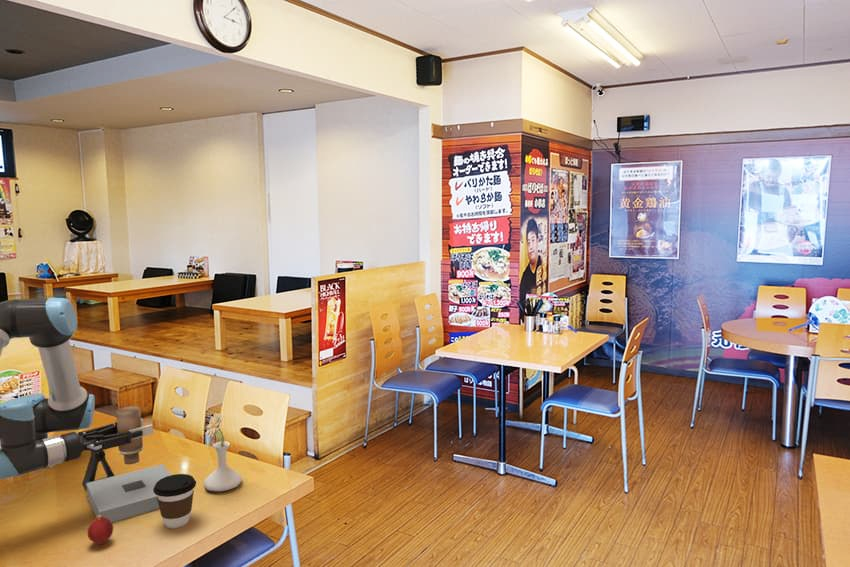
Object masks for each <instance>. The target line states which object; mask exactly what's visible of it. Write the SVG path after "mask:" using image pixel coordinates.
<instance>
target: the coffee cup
mask: <svg viewBox="0 0 850 567" xmlns="http://www.w3.org/2000/svg"><path fill="white" fill-rule="evenodd" d="M196 486H197V481H196V479H195V478H194V477H193V475H190V474H186V473H178V474H177V473H176V474H171V476H167V477H164V478H162V479H160V480H159V481H158V482H157V483H156V484H155V486H154V489H153V492H154V493H155V494H156V495H157V501H158V505H159V509H158V510H159V513H160V515H161V517H162V522H163V525H165V527H166V528H168V529H177V528H181V527H184V526H186V525H187V524H189V521H190V519H191V512H192V510H193V509H192V508H193V507H192V506H193V500H194V491H195V490H194V489H195V488H196Z"/></svg>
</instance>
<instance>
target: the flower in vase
mask: <svg viewBox="0 0 850 567" xmlns="http://www.w3.org/2000/svg"><path fill="white" fill-rule="evenodd" d="M222 419H223V418H222V415H221V413H220V412H219V413H217V412H215V413H214V414H213V416H211V417H210V420H208V421H209V424H207V426H206V432H205V436H207V438H206V439H211V438H213V437H215V438H216V439H217V440H218V441H217V442H215V443H213V445H212V447H213V448H214V449H215V451H216V454H217V460H218V462H217V464H218V465H217V468H216V469H215V470H213V471H212V472H211V473H210V474H209V475H208V476H207V477H206V478H205V480H204V482H203V486H204V488H206V489H207V490H208V491H212V492H223V491H224V492H225V491H228V490H232V489H234V488H236V487H238V486H239V485H240V484H241V482H242V480H243V478H242V476H241V474H240V473H239V472H237V471H236V470H234V469H232V468H230V467H229V466H228V464H227V460H226V459H227V450H228V448H229V446H230V442H229V441H226V440H225V436H224V434H223V432H222V430H221V428H220V427H221V425H222V421H223V420H222Z"/></svg>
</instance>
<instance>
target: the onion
mask: <svg viewBox="0 0 850 567" xmlns="http://www.w3.org/2000/svg"><path fill="white" fill-rule="evenodd" d="M113 533H114V524H113V522H112V523H111V521H110V520H109V519H107V518H105V517H102V516H101V515H98V516H97V517H96V516H95V519H94V520H92V522H90V524H89V525H88V529H87V537H88V539H89V540H90V541H91V542H93V543H95V544H98V545H100V546H101V545H103V544H104V543H106V542H107V541H108V540H109V539H110V538H111V537H112V535H113Z"/></svg>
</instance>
